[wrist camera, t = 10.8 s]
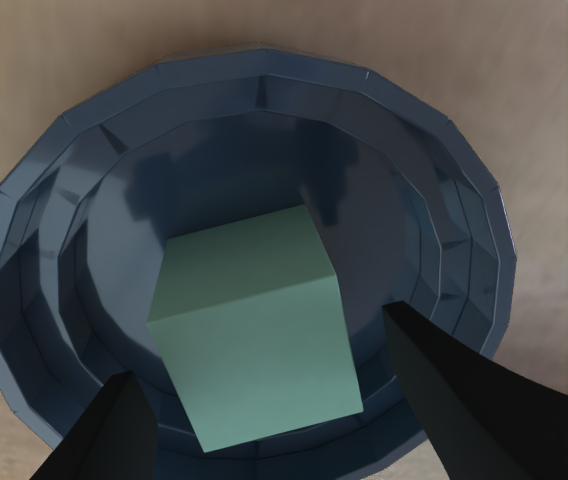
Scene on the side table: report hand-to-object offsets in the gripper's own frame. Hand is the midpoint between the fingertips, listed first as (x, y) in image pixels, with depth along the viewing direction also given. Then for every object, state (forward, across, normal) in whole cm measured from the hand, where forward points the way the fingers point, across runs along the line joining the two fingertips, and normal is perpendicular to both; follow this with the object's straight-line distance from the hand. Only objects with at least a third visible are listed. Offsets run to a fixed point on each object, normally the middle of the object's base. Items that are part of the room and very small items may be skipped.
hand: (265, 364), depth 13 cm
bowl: (+5, 0, 0) cm, 5 cm away
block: (+5, 0, 0) cm, 5 cm away
